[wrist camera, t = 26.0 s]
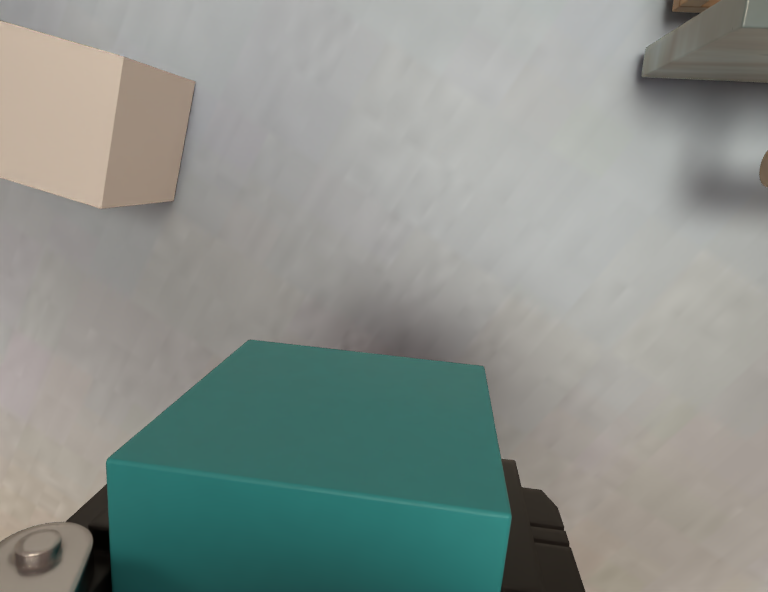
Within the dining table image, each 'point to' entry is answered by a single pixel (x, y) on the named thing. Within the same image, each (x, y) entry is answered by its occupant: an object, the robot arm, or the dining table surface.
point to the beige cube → (89, 121)
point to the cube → (314, 479)
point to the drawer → (715, 46)
